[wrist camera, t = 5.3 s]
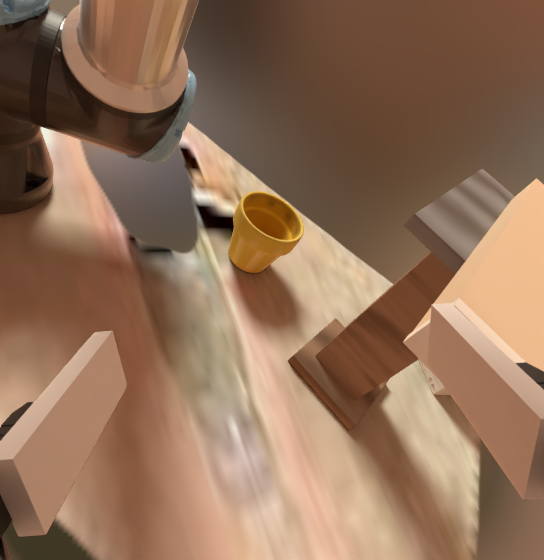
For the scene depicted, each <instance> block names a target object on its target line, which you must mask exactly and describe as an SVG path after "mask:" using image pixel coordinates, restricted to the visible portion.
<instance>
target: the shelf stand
mask: <svg viewBox="0 0 544 560" xmlns="http://www.w3.org/2000/svg"><path fill="white" fill-rule="evenodd" d="M514 197H515V196H513V195H512V194H511V193H510V192H509V191H508V190H506V189H505V188H504V187H503V186H502V185H501V184H499V183H498V182H497V181H496V180H495V179H494V178H493V177H491V176H490V175H489V174H488V173H487V172H486V171H484V170H483V169H481V170H480V171H478V172H477V173H475V174H474V175H472V176H471V177H469V178H468V179H466V180H465V181H463V182H462V183H461V184H459V185H457V186H456V187H454V188H453V189H451V190H450V191H448V192H447V193H445V194H444V195H442V196H441V197H439V198H438V199H436V200H435V201H433V202H432V203H430V204H429V205H427V206H426V207H425V208H423V209H422V210H420V211H419V212H417V213H416V214H414V215H413V216H412V217H411V219H409V220H408V222H407V223H406V224H405V225H404V226H405V227H406V228H407V229H408V230H409V231H410V232H411V233H412V234H413V235H414V236H415V237H416V238H417V239H418V240H419V241H420V242H422V243H423V244H424V245H425V246H426V247H427V248H428V249H429V250H430V251H431V252H430V253H428V254H427V255H426V256H425V257H424V258H423V259H422V260H421V261H420V262H418V263H417V264H416V265H415V266H414V267H413V268H412V269H410V270H409V271H408V272H407V273H406V274H405V275H404V276H403V277H402V278H400V279H399V280H398V281H397V282H396V283H395V284H394V285H393V286H391V287H390V288H389V289H388V290H387V291H386V292H385V293H384V294H382V295H381V296H380V297H379V298H378V299H377V300H376V301H375V302H374V303H372V304H371V305H370V306H369V307H368V308H367V309H366V310H365V311H363V312H362V313H361V314H360V315H359V316H358V317H357V318H356V319H354V320H353V321H352V322H351V323H350V324H349V325H348V326H347V327H346V328H344V326H343V325H342V324H341V323H340V322H339V321H338V320H337V319H335V320H333V321H332V322H331V323H330V324H329V325H328V326H327V327H325V328H324V329H323V330H322V331H321V332H320V333H319V334H317V335H316V336H315V337H314V338H313V339H312V340H311V341H309V342H308V343H307V344H306V345H305V346H304V347H302V348H301V349H300V350H299V351H298V352H297V353H296V354H294V355H293V356H292V357H291V358H290V359H289V360H288V361H289V363H290V364H291V365H292V366H293V367H294V368H295V369H296V371H297V372H298V373H299V374H300V375H301V376H302V377H303V379H304V380H305V381H306V382H307V383H308V384H309V385H310V387H311V388H312V389H313V390H314V391H315V392H316V393H317V395H318V396H319V397H320V398H321V399H322V400H323V401H324V403H325V404H326V405H327V406H328V407H329V408H330V409H331V411H332V412H333V413H334V414H335V415H336V416H337V417H338V419H339V420H340V421H341V422H342V423H343V424H344V425H345V427H346V428H347V429H348V430H350V429H352V428H353V427H355V426H356V425H357V424H358V422H359V421H360V420H361V418H362V417H363V415H364V414H365V413H366V411H367V410H368V408H369V407H370V406H371V404H372V403H373V401H374V400H375V398H376V397H377V396H378V394H379V393H380V391H381V390H382V389H383V387H384V386H385V384H386V383H387V382H388V380H389V379H390V378H391V377H392V376H394V375H395V374H397V373H398V372H400V371H401V370H403V369H404V368H406V367H407V366H409V365H410V364H412V363H413V362H415V361H417V360H418V358H417V356H416V355H415V354H414V353H413V352H412V351H411V350H410V349H409V348H408V347H407V346H406V345H405V344H404V343H403V341H404V340H405V339H406V337H407V336H408V335H409V334H410V333H411V332H413V330H414V329H415V328H416V326H417V325H418V324H419V322H420V321H421V320H422V318H423V317H424V316H425V314H426V313H427V312H428V310H429V309H430V308H431V304H434V302H435V301H436V300H437V298H438V297H439V296H440V294H441V293H442V292H443V290H444V289H445V288H446V287H447V285H448V284H449V283H450V281H451V280H452V279H453V277H454V276H455V275H456V273H457V272H458V271H459V269H460V268H461V267H462V265H463V264H464V263H465V261H466V260H467V259H468V257H469V256H470V255H471V253H472V252H473V251H474V249H475V248H476V247H477V245H478V244H479V243H480V241H481V240H482V239H483V237H484V236H485V235H486V233H487V232H488V231H489V229H490V228H491V227H492V225H493V224H494V223H495V221H496V220H497V219H498V217H499V216H500V215H501V213H502V212H503V211H504V209H505V208H506V207H507V205H508V204H509V203H510V201H511V200H512V199H513V198H514Z"/></svg>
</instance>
